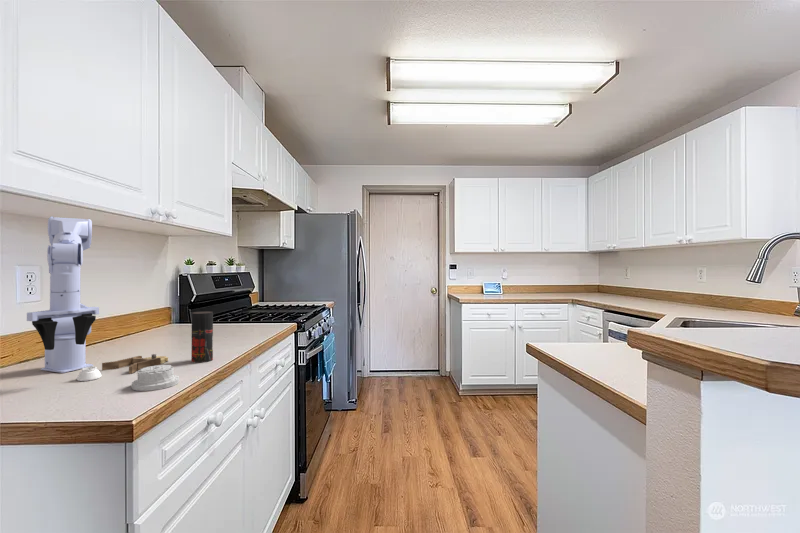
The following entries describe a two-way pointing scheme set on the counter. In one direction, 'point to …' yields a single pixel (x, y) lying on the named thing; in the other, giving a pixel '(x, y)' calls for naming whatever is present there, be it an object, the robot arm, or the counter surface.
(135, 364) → the gear station
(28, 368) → the counter surface
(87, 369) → the white jar
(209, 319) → the deodorant
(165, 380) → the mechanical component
